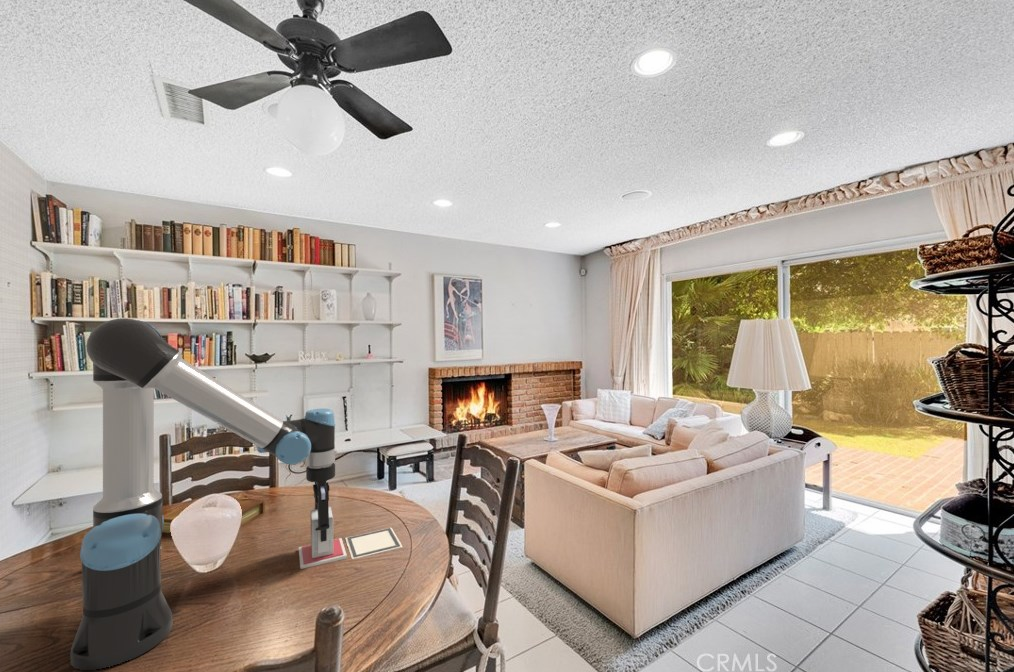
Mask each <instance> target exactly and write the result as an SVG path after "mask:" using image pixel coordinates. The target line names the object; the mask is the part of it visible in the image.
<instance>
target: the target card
mask: <svg viewBox="0 0 1014 672" xmlns="http://www.w3.org/2000/svg"><path fill="white" fill-rule="evenodd" d="M344 538H345V539H344V540H345V543H346V545H347V548H348V551H349V555H350V558H351V560H357V559H360V558H365V557H369V556H373V555H378V554H382V553H387V552H391V551H396V550H399V549H403V547H404V546H403V545H402V543H401V541H400V539H399V538H398V536H397V535H396V533H395V531H394V529H393V528H392V527H388V528H383V529H378V530H374V531H370V532H369V531H368V532H366V533H361V534H357V535H353V536H352V535H351V536H348V537H344Z"/></svg>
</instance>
